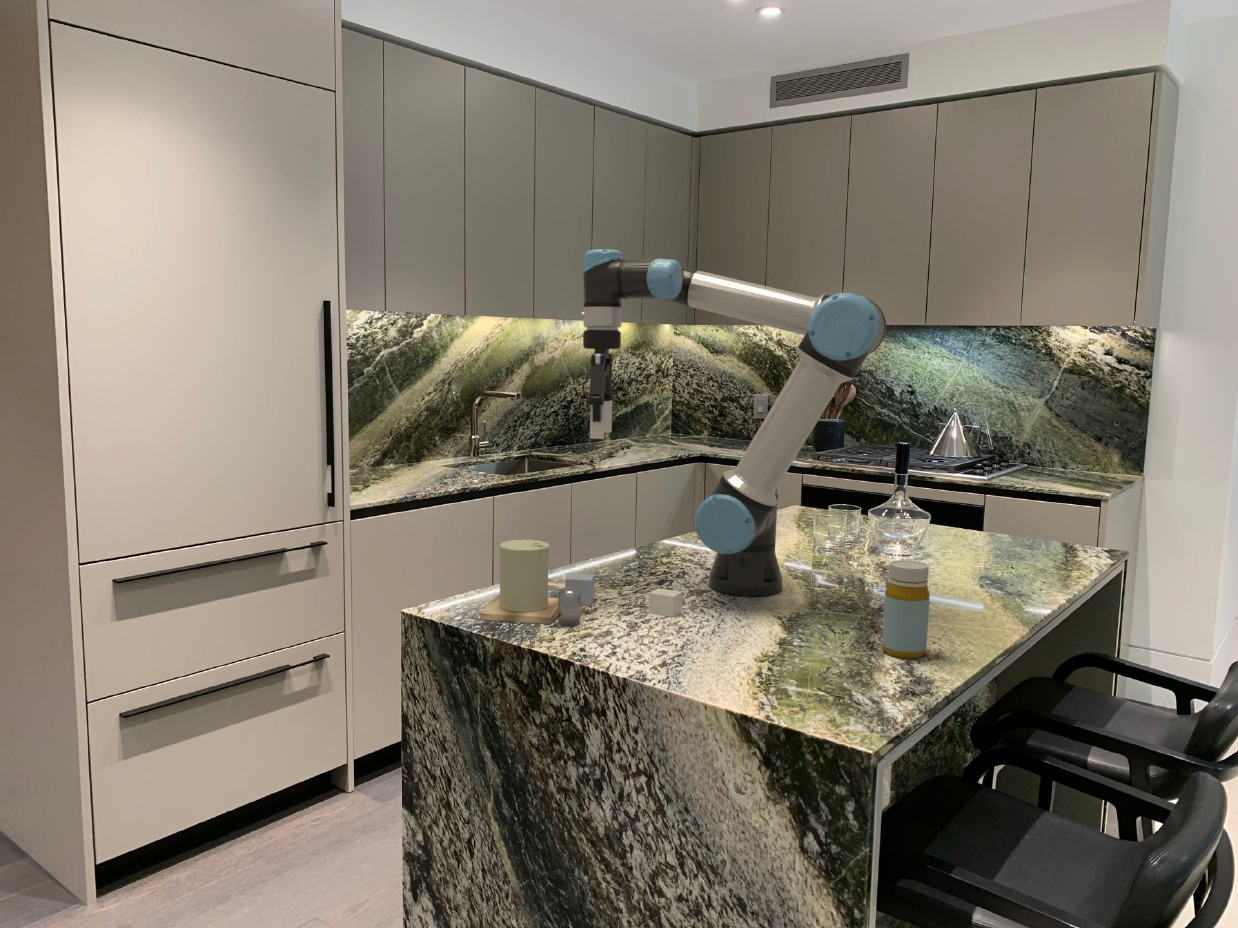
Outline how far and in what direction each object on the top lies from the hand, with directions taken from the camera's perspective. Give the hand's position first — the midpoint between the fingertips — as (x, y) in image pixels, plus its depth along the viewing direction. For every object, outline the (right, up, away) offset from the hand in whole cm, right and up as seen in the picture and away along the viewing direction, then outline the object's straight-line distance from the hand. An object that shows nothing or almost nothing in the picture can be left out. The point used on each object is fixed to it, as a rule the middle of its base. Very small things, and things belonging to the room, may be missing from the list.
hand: (601, 435), depth 194 cm
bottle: (+51, -37, -34) cm, 72 cm away
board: (-14, -33, -15) cm, 39 cm away
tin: (-5, -34, -22) cm, 41 cm away
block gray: (-4, -33, -7) cm, 33 cm away
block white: (+12, -34, -14) cm, 38 cm away
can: (-14, -32, -15) cm, 38 cm away
